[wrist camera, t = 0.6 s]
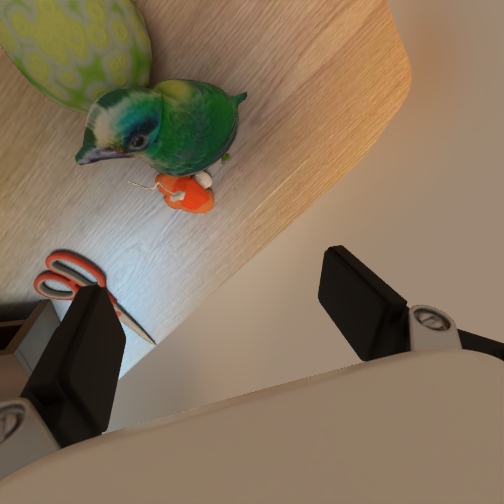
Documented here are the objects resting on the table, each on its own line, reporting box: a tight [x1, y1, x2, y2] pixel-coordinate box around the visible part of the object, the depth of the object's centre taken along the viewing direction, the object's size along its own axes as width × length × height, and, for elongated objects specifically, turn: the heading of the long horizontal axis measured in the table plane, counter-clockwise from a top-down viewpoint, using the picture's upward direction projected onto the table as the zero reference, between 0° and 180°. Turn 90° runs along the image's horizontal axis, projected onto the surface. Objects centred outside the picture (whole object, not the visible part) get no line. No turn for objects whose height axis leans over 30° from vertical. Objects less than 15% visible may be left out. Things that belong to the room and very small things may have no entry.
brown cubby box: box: [0, 299, 61, 402], centre depth 33 cm, size 12×9×9 cm
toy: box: [75, 79, 247, 177], centre depth 22 cm, size 12×8×15 cm
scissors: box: [34, 252, 156, 346], centre depth 36 cm, size 8×21×2 cm, turn 38°
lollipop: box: [127, 171, 214, 213], centre depth 26 cm, size 6×10×12 cm, turn 49°
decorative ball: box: [0, 0, 152, 115], centre depth 19 cm, size 10×10×10 cm
